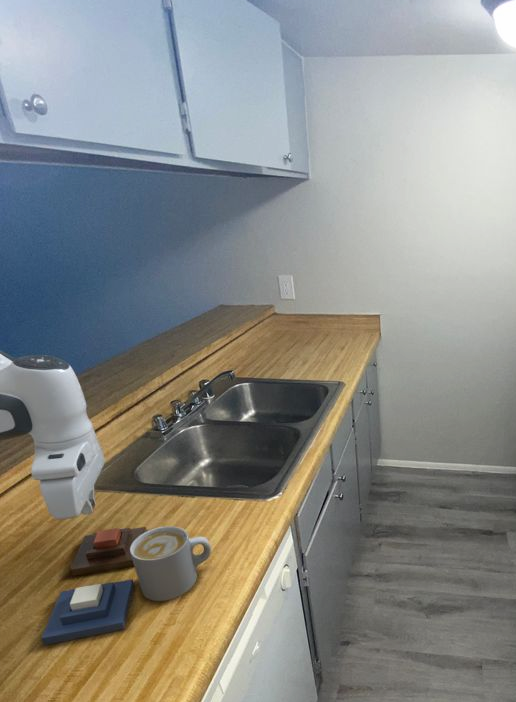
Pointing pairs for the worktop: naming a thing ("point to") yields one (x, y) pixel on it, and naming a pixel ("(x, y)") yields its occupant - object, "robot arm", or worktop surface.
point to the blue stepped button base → (90, 614)
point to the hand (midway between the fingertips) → (89, 510)
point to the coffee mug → (167, 561)
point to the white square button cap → (86, 597)
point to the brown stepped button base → (105, 553)
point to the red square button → (107, 538)
